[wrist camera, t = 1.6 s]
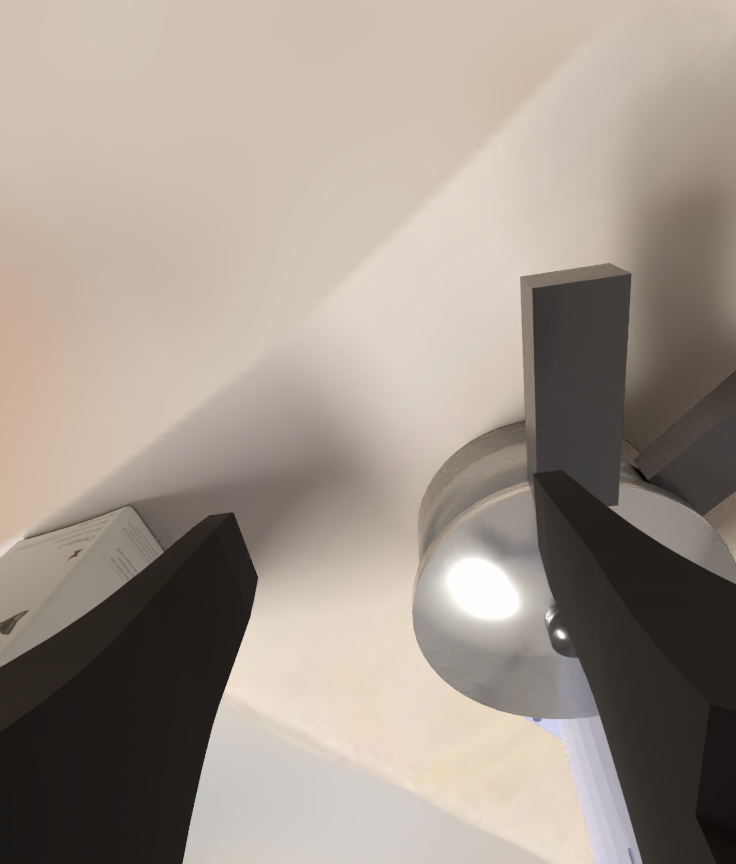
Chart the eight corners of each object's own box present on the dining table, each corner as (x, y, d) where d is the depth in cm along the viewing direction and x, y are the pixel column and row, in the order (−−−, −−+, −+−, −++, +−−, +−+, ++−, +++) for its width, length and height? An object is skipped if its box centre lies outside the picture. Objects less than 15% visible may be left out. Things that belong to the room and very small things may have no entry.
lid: (707, 695, 22) (731, 737, 20) (429, 707, 23) (431, 746, 22) (792, 235, 14) (842, 243, 12) (360, 301, 15) (354, 316, 14)
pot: (868, 394, 20) (980, 450, 16) (539, 643, 28) (561, 724, 24) (675, 217, 18) (751, 230, 14) (372, 540, 25) (365, 609, 21)
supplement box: (132, 499, 25) (-90, 763, 14) (206, 606, 28) (71, 896, 17) (14, 536, 27) (-269, 800, 16) (96, 634, 30) (-94, 916, 19)
